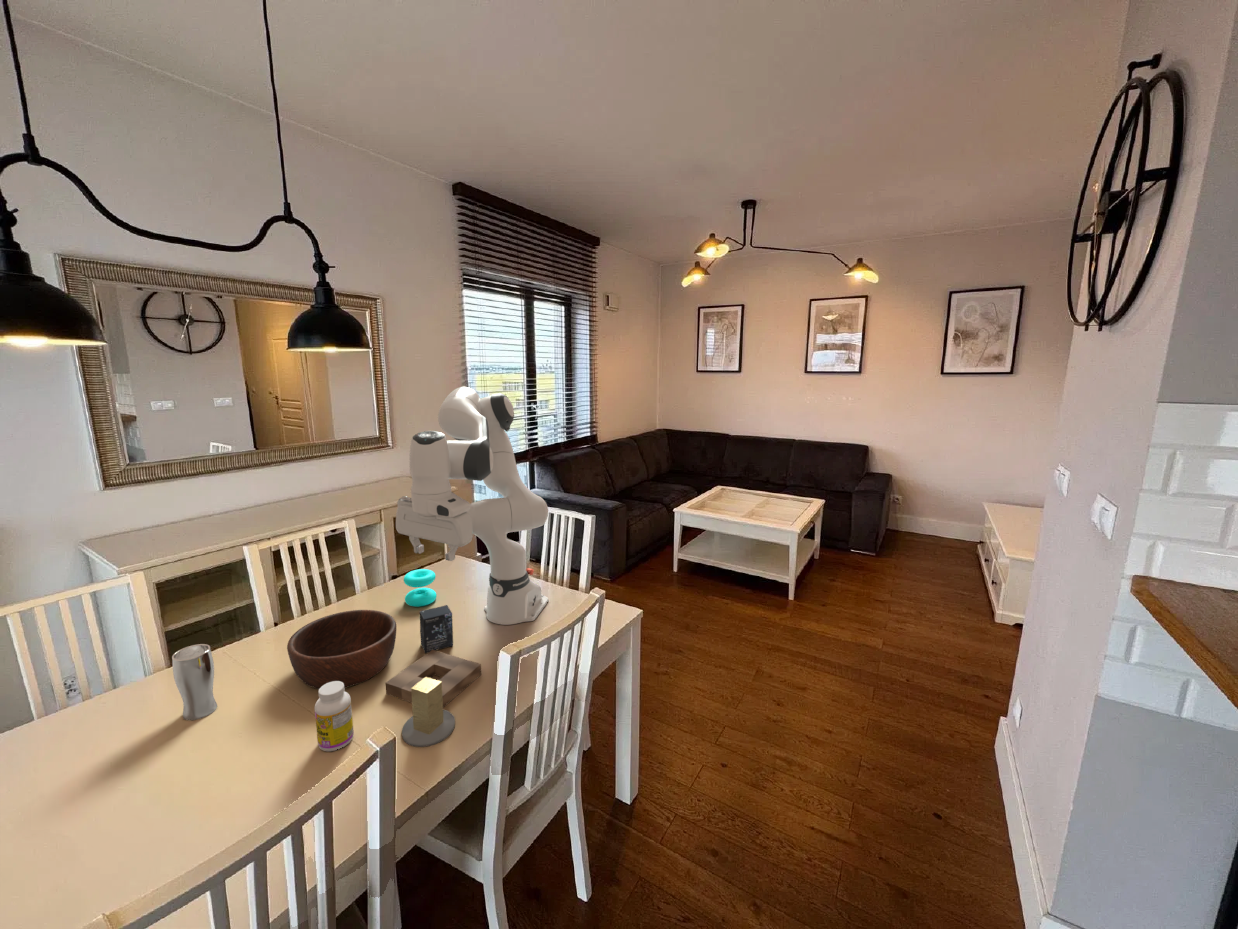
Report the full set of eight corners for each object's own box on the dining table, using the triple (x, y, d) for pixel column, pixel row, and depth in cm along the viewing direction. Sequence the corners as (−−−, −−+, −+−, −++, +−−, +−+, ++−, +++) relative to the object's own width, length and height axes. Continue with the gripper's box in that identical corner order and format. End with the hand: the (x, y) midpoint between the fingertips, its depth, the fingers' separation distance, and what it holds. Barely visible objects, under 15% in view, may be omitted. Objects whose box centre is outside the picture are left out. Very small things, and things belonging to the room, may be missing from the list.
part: (428, 716, 115) (426, 676, 113) (443, 722, 113) (441, 681, 111) (413, 729, 111) (411, 688, 109) (429, 734, 109) (427, 693, 107)
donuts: (403, 581, 162) (403, 570, 171) (405, 610, 164) (404, 597, 173) (436, 577, 166) (434, 566, 175) (437, 605, 168) (435, 592, 177)
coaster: (427, 706, 119) (427, 703, 119) (465, 720, 115) (465, 717, 115) (390, 737, 109) (390, 734, 109) (430, 753, 105) (430, 750, 105)
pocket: (433, 659, 138) (432, 649, 137) (481, 674, 132) (481, 664, 131) (386, 693, 123) (385, 682, 123) (437, 712, 117) (437, 700, 117)
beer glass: (176, 725, 111) (166, 664, 108) (185, 706, 117) (176, 647, 114) (216, 716, 114) (207, 656, 111) (222, 698, 120) (214, 640, 117)
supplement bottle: (313, 742, 107) (307, 688, 105) (346, 726, 112) (341, 674, 110) (325, 758, 103) (320, 702, 100) (359, 740, 108) (354, 686, 105)
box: (425, 654, 140) (423, 619, 138) (420, 644, 145) (418, 610, 143) (453, 646, 144) (452, 612, 142) (448, 637, 149) (447, 604, 147)
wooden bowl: (340, 636, 148) (337, 604, 146) (417, 648, 143) (415, 615, 141) (265, 689, 124) (261, 651, 122) (355, 705, 119) (351, 665, 117)
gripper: (387, 498, 119) (391, 552, 122) (458, 511, 112) (460, 569, 115) (407, 491, 125) (410, 544, 128) (475, 504, 118) (477, 559, 121)
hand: (434, 556), depth 122 cm, fingers open, 8 cm apart
